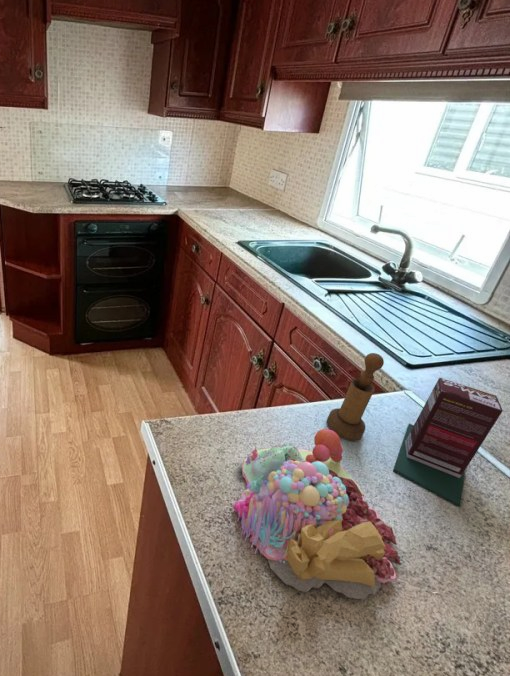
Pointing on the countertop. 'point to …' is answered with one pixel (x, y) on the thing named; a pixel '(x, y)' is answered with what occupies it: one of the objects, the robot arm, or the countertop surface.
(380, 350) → the countertop surface
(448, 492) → the rubber mat
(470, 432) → the supplement box
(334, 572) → the candy landscape model
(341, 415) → the mortar and pestle
